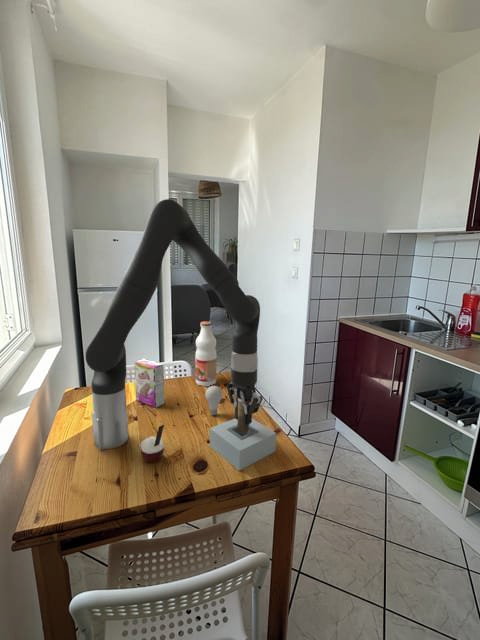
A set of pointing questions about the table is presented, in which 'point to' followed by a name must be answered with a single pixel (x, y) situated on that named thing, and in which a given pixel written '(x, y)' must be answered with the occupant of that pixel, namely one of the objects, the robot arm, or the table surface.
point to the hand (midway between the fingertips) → (243, 421)
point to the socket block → (242, 442)
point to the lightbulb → (213, 398)
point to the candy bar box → (149, 382)
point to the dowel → (241, 417)
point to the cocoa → (153, 447)
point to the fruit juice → (206, 356)
